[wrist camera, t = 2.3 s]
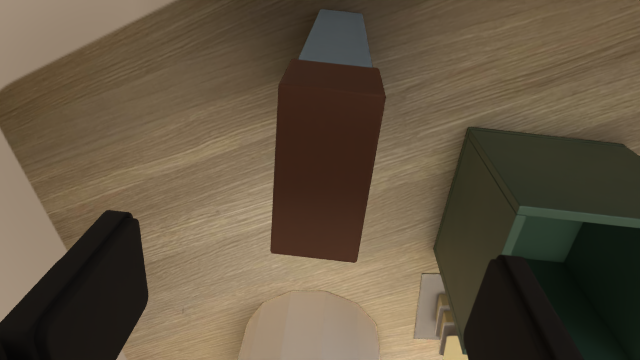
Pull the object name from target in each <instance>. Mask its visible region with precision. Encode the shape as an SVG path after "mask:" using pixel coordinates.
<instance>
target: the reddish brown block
mask: <svg viewBox="0 0 640 360" xmlns="http://www.w3.org/2000/svg"><path fill="white" fill-rule="evenodd" d="M385 99H386V96H385V92H384V88H383V84H382V79H381V75H380V71H379V69H378V68H371V67H362V66H353V65H344V64H335V63H326V62H317V61H308V60H299V59H291V61H290V63H289V65H288V67H287V69H286V71H285V73H284V75H283V77H282V79H281V81H280V83H279V86H278V106H277V127H276V147H275V168H274V188H273V209H272V229H271V250H270V251H271V253H274V254H283V255H292V256H301V257H309V258H318V259H327V260H336V261H344V262H353V263H355V262H356V261H357V257H358V252H359V246H360V240H361V235H362V229H363V223H364V218H365V212H366V207H367V201H368V195H369V190H370V184H371V178H372V173H373V167H374V161H375V156H376V150H377V144H378V139H379V133H380V128H381V122H382V116H383V111H384V105H385Z"/></svg>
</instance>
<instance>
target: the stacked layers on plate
mask: <svg viewBox="0 0 640 360" xmlns="http://www.w3.org/2000/svg"><path fill="white" fill-rule="evenodd" d="M414 339H432V340H441V341H440V347H439V354H440V355H444V356H443V360H468V356H467V355H463V354H462V350H461V347H460V343H459V339H458V336H457V332H456V329H455V325H454V321H453V318H452V314H451V311H450V307H449V303H448V300H447V296H446V293H445V289H444V285H443V282H442V278H441V275H440V274H422V279H421V287H420V295H419V303H418V311H417V318H416V326H415V334H414Z"/></svg>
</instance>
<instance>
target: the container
mask: <svg viewBox="0 0 640 360" xmlns="http://www.w3.org/2000/svg"><path fill="white" fill-rule="evenodd" d="M238 360H380V347H379V340H378V333H377V327H376V323H375V322H374V321H373V320H372V319H371V318H370V317H369V316H368V315H367V314H366V313H365V311H364V310H363V309H362V308H361V307H360V306H359V305H358V304H357V303H355V302H352V301H350V300H347V299H345V298H342V297H339V296H337V295H334V294H332V293H329V292H327V291H290V292H287V293H285V294H283V295H280V296H278V297H275V298H273V299H270V300H268V301H265V302H263V303H262V304H261V306H260V307H259V308H258V309H257V311H256V312H255V313H254V315H253V316H252V317H251V318H250V320H249V321H248V323H247V326H246V330H245V334H244V338H243V341H242V345H241V349H240V352H239V356H238Z"/></svg>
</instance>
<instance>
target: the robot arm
mask: <svg viewBox="0 0 640 360" xmlns="http://www.w3.org/2000/svg"><path fill="white" fill-rule="evenodd" d="M147 301H148V288H147V280H146V273H145V265H144V257H143V250H142V242H141V234H140V227H139V221H138V220H137V219H134V218H133V216H132V214H131V213H129V212H121V211H112V210H107V211H105V212H104V213H103V214H102V215H101V216H100V217H99V218H98V219H97V221H96V222H95V223H94V224H93V225H92V226H91V227H90V228H89V229H88V230H87V231H86V232H85V233H84V235H83V236H82V237H81V238H80V239H79V240H78V241H77V242H76V243H75V244H74V245H73V246H72V247H71V248H70V250H69V251H68V252H67V253H66V254H65V255H64V256H63V257H62V258H61V259H60V260H59V261H57V263H55V265H54V266H53V267H52V268H51V269H50V270H49V271H48V272H47V273H46V274H45V275H44V276H43V277H42V278H41V279H40V281H39V282H38V283H37V284H36V285H35V286H34V287H33V288H32V289H31V290H30V291H29V292H28V293H27V295H25V297H24V298H23V299H22V300H21V301H20V302H19V303H18V304H17V305H16V306H15V307H14V308H13V310H11V312H10V313H9V314H8V315H7V316H6V317H5V318H4V319H3V320H2V321H1V322H0V360H116V359H117V357H118V355H119V353H120V352H121V350H122V348H123V346H124V345H125V343H126V341H127V339H128V338H129V336H130V334H131V332H132V331H133V329H134V327H135V325H136V323H137V322H138V320H139V318H140V316H141V315H142V313H143V311H144V309H145V307H146V305H147ZM463 341H464V346H465V349H466V353H467V356H468V360H584V358H583V357H582V355H581V353H580V352H579V350H578V348H577V346H576V345H575V343H574V341H573V339H572V338H571V336H570V334H569V332H568V331H567V329H566V327H565V326H564V324H563V322H562V320H561V319H560V317H559V316H558V315H557V314H556V312H555V310H554V309H553V307H552V305H551V304H550V302H549V300H548V298H547V297H546V295H545V293H544V291H543V290H542V288H541V286H540V284H539V283H538V281H537V279H536V277H535V276H534V274H533V272H532V270H531V269H530V267H529V265H528V263H527V262H526V260H525V259H524V258H523V257H520V256H511V255H502V254H501V255H498V256H497V258H496V259H491V260H490V261H489V263H488V266H487V269H486V272H485V274H484V277H483V280H482V283H481V285H480V288H479V291H478V293H477V296H476V299H475V302H474V304H473V307H472V310H471V313H470V315H469V318H468V321H467V323H466V326H465V329H464V334H463Z"/></svg>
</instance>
